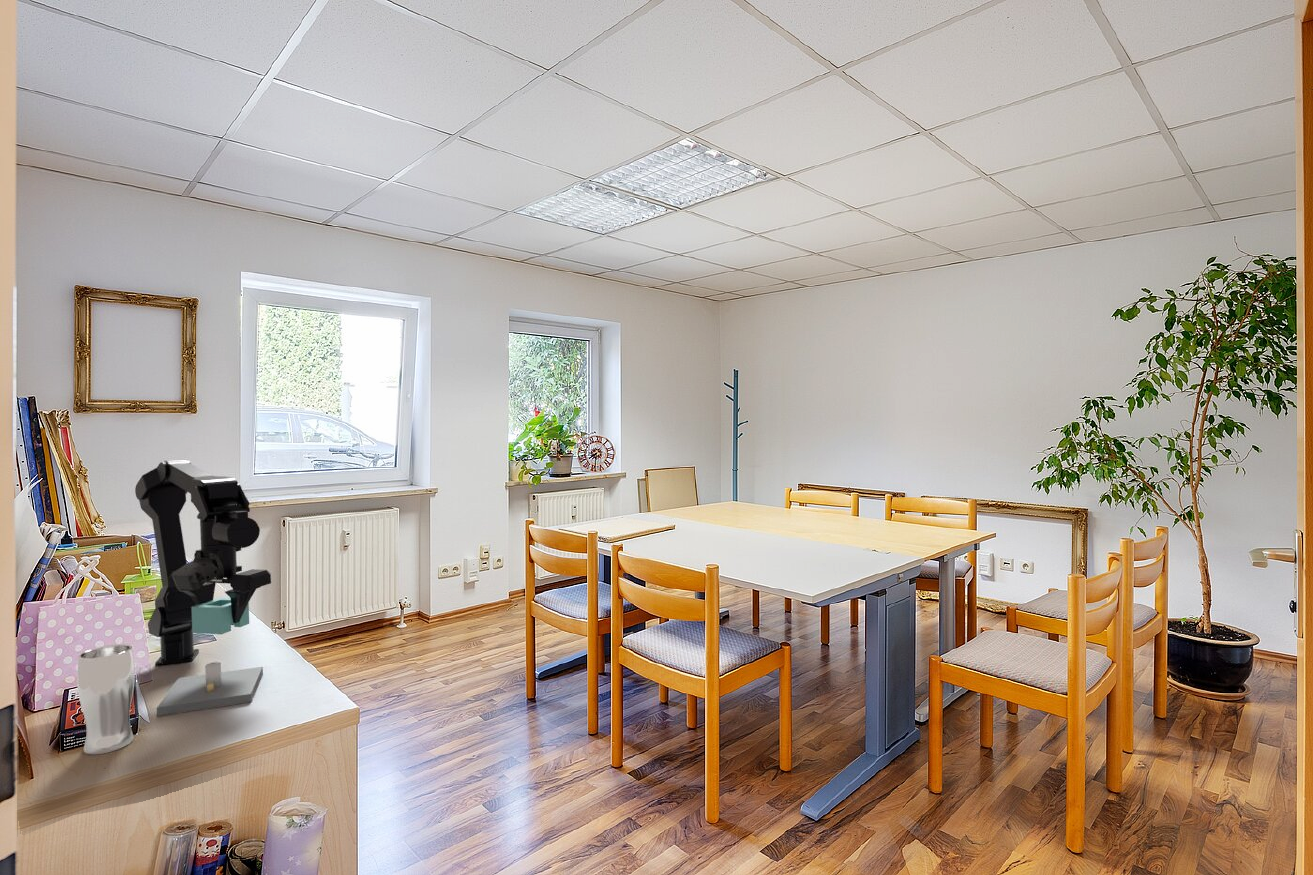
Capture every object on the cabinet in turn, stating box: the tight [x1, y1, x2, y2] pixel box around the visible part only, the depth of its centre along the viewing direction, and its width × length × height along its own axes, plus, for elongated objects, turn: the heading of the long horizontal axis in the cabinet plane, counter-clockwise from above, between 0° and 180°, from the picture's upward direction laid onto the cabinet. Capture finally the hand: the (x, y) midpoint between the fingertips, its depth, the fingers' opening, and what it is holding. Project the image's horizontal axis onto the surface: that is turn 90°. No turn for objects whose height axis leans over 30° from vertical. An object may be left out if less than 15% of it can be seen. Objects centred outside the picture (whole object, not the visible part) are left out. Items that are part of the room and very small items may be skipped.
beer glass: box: [76, 643, 136, 756], centre depth 104 cm, size 7×7×15 cm
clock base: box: [156, 661, 264, 717], centre depth 123 cm, size 14×14×6 cm
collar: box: [191, 597, 250, 636], centre depth 129 cm, size 7×7×5 cm
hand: (221, 621), depth 130 cm, fingers closed on collar, 7 cm apart
